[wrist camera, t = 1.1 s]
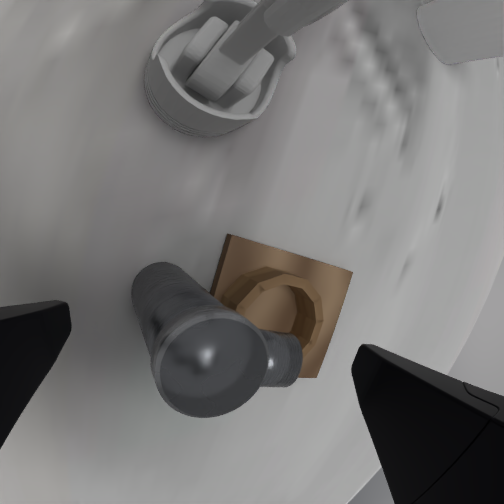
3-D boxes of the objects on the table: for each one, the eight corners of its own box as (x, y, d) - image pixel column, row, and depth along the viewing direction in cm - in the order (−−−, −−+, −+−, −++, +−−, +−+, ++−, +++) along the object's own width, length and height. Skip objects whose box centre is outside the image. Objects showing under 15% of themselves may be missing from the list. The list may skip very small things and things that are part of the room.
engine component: (119, 97, 21) (224, 159, 25) (198, -128, 3) (469, 108, 7) (192, 7, 22) (280, 66, 26) (332, -156, 3) (476, -23, 8)
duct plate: (190, 365, 27) (204, 388, 23) (227, 233, 27) (248, 239, 23) (311, 373, 33) (333, 390, 30) (346, 270, 33) (373, 278, 29)
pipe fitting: (122, 317, 24) (146, 416, 12) (138, 252, 24) (171, 304, 12) (210, 333, 27) (289, 418, 16) (227, 274, 27) (323, 329, 16)
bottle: (460, 73, 40) (581, 61, 18) (426, 56, 35) (571, 31, 13) (445, 17, 38) (555, -5, 15) (408, -6, 33) (536, -43, 11)
